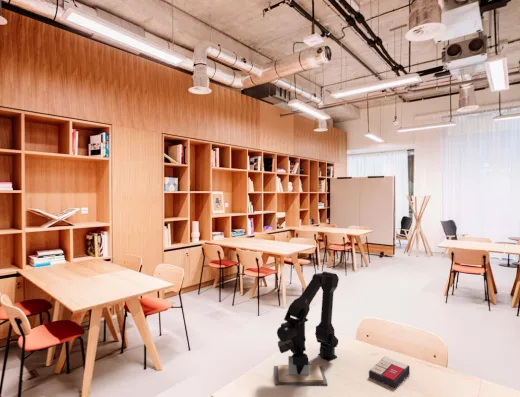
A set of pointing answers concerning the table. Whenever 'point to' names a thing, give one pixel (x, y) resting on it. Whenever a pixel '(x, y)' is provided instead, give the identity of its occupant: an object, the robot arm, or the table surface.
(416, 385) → the table surface
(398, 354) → the table surface
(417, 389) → the table surface
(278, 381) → the board
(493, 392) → the table surface
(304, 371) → the block
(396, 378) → the black red beige box
